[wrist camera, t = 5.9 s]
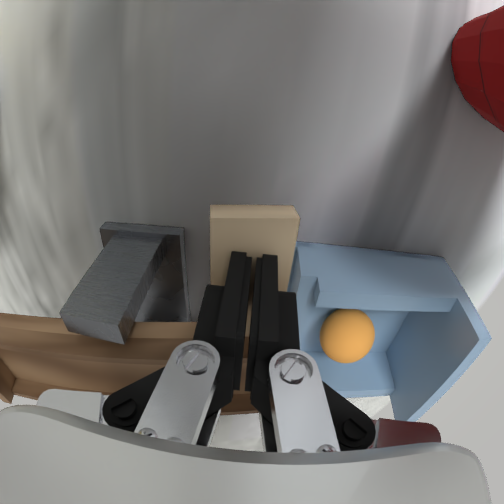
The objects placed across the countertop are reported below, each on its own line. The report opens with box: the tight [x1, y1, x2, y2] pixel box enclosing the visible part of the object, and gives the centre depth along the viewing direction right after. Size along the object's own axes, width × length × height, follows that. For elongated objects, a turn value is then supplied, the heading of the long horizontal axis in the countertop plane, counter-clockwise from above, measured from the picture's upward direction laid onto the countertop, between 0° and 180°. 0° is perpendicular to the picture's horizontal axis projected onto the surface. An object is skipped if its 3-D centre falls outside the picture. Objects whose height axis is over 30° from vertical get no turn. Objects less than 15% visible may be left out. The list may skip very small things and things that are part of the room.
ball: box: [319, 308, 375, 363], centre depth 17 cm, size 4×4×4 cm
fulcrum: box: [60, 222, 191, 345], centre depth 16 cm, size 10×5×7 cm, turn 176°
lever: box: [0, 205, 300, 415], centre depth 12 cm, size 12×18×3 cm
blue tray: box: [287, 241, 492, 422], centre depth 16 cm, size 10×10×7 cm
